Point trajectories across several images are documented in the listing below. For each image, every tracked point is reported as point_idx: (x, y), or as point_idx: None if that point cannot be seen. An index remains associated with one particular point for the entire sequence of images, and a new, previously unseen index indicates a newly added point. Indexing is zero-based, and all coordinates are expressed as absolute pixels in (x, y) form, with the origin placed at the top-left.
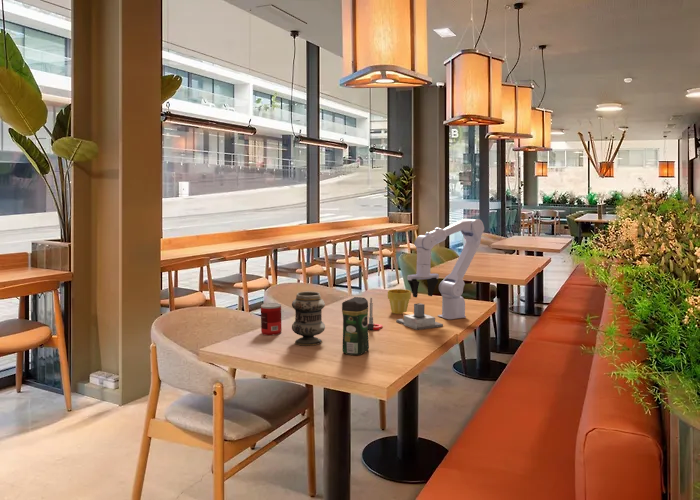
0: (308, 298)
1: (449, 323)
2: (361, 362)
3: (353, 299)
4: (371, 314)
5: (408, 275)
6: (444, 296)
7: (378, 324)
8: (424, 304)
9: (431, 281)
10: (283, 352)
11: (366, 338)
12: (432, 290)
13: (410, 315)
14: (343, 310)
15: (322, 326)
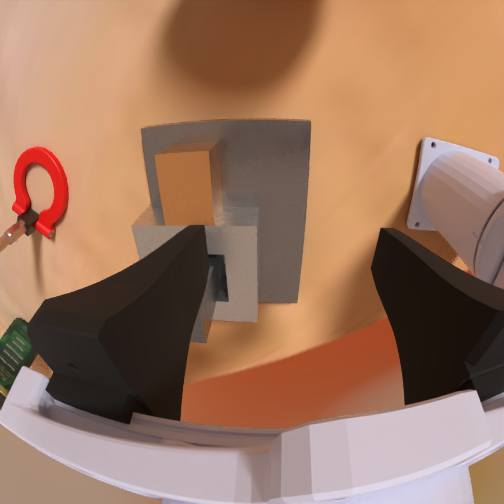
0: None
1: (358, 271)
2: (43, 362)
3: None
4: (2, 248)
5: (14, 433)
6: (484, 245)
7: (56, 176)
8: (206, 342)
9: (429, 386)
10: None
11: (32, 362)
12: (391, 317)
13: (163, 241)
14: None
15: None
